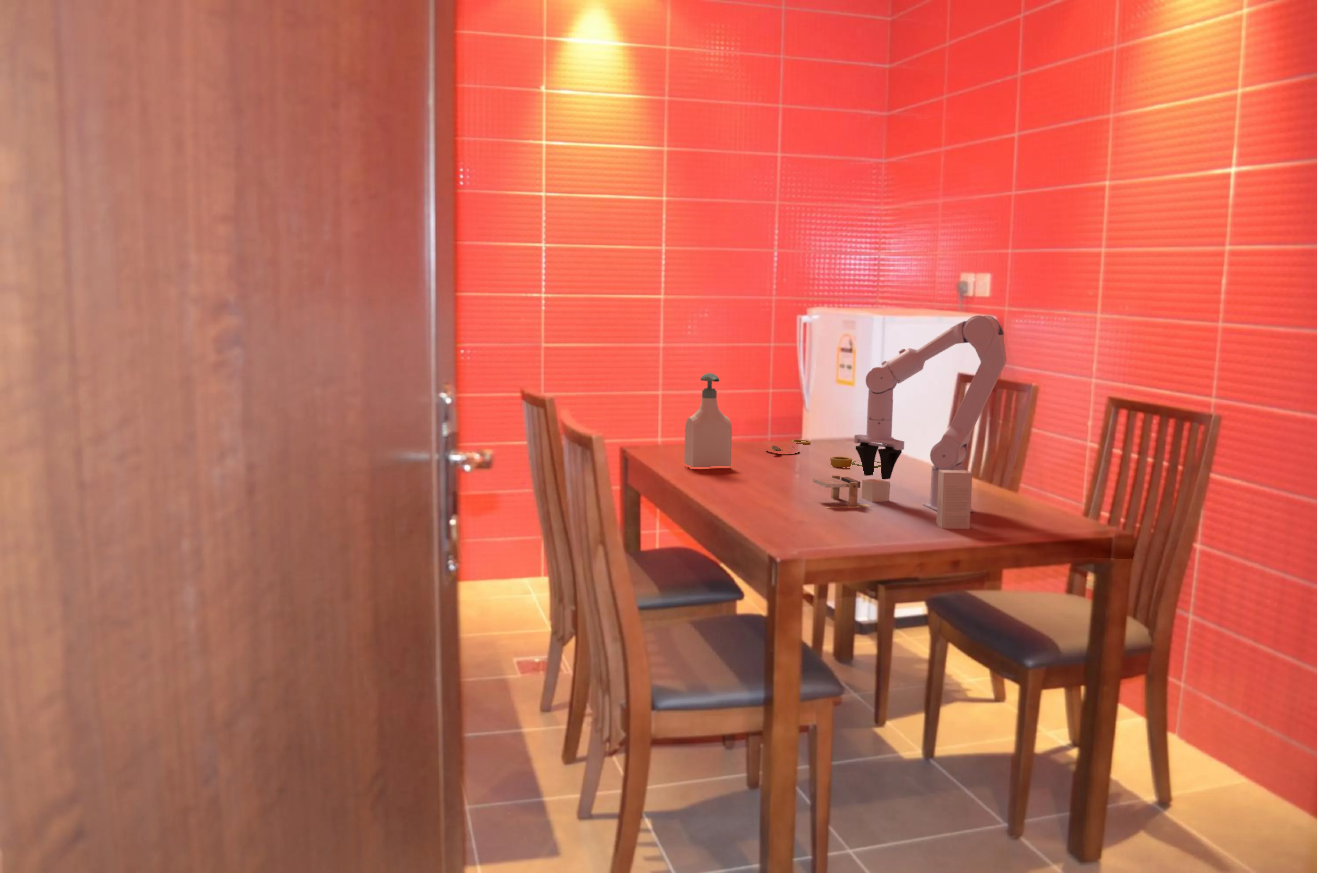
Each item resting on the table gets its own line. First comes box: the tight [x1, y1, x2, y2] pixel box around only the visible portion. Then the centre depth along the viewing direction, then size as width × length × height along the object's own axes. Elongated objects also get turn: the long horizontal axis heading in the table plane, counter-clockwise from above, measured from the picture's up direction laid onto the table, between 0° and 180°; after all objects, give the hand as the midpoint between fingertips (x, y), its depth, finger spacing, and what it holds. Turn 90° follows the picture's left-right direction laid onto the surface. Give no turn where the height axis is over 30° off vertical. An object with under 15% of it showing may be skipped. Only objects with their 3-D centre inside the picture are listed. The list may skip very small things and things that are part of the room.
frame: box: [824, 474, 873, 510], centre depth 242 cm, size 11×11×6 cm
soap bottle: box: [683, 372, 733, 467], centre depth 283 cm, size 11×8×27 cm
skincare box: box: [936, 469, 973, 530], centre depth 220 cm, size 6×4×12 cm
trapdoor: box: [812, 476, 861, 489], centre depth 241 cm, size 8×8×1 cm
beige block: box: [861, 478, 891, 503], centre depth 246 cm, size 5×5×6 cm
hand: (877, 477), depth 246 cm, fingers open, 5 cm apart
